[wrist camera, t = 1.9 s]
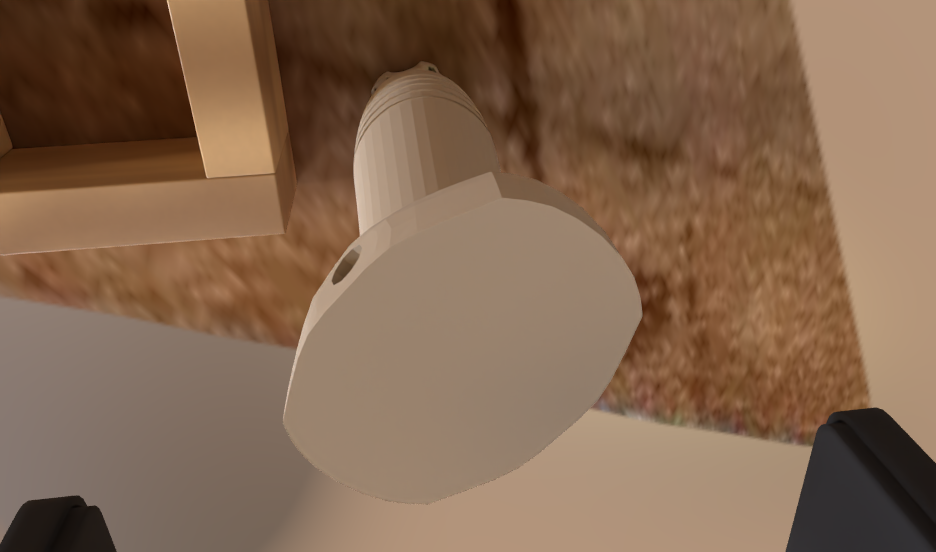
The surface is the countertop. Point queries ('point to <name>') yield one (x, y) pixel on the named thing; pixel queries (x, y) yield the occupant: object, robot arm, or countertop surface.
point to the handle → (452, 309)
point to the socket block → (169, 154)
